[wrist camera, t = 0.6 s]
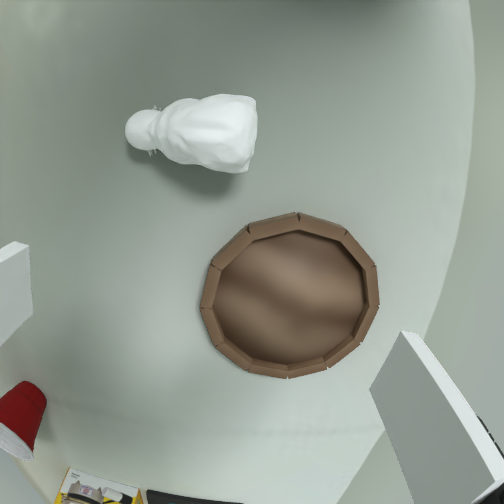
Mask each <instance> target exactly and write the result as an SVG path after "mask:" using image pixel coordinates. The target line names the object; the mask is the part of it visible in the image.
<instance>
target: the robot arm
mask: <svg viewBox="0 0 504 504" xmlns="http://www.w3.org/2000/svg"><path fill="white" fill-rule="evenodd" d="M33 314H34V312H33V302H32V291H31V276H30V249H29V245H25V244H22V243H19V242H16V241H14V242H12V243H10V244H8V245H6V246H4V247H3V248H1V249H0V346H1V345H2V344H3V343H4V342H5V341H6V340H7V339H8V338H9V337H10V336H11V335H12V334H13V333H14V332H15V331H16V330H17V329H18V328H19V327H20V326H21V325H22V324H23V323H24V322H25V321H26V320H27V319H28V318H29V317H30V316H32V315H33ZM369 390H370V392H371V395H372V397H373V399H374V402H375V404H376V407H377V409H378V411H379V414H380V416H381V419H382V421H383V423H384V426H385V428H386V431H387V433H388V436H389V438H390V441H391V443H392V446H393V448H394V451H395V453H396V456H397V458H398V461H399V464H400V466H401V469H402V472H403V474H404V476H405V479H406V482H407V485H408V488H409V490H410V493H411V496H412V498H413V501H414V504H504V455H503V453H502V451H501V450H500V448H499V446H498V445H497V443H496V442H495V443H494V439H493V437H492V435H491V434H490V433H488V429H487V428H486V426H485V425H484V423H483V421H482V420H481V419H480V418H479V417H478V416H477V415H476V414H475V413H474V412H473V410H472V409H471V407H470V406H469V404H468V403H467V401H466V400H465V398H464V397H463V396H462V394H461V393H460V391H459V390H458V388H457V387H456V385H455V384H454V383H453V381H452V380H451V378H450V377H449V376H448V374H447V373H446V372H445V370H444V369H443V367H442V366H441V365H440V363H439V362H438V361H437V360H436V358H435V356H434V355H433V354H432V352H431V351H430V350H429V349H428V347H427V346H426V344H425V343H424V342H423V341H422V339H421V338H420V337H419V335H418V334H417V333H411V332H404V331H401V332H400V334H399V336H398V338H397V340H396V342H395V343H394V345H393V347H392V349H391V351H390V353H389V355H388V357H387V359H386V360H385V362H384V364H383V366H382V368H381V369H380V371H379V373H378V375H377V377H376V378H375V380H374V382H373V383H372V385H371V387H370V389H369Z"/></svg>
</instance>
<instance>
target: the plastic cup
mask: <svg viewBox="0 0 504 504" xmlns="http://www.w3.org/2000/svg"><path fill="white" fill-rule="evenodd" d="M45 408H46V398H45V396H44V394H43V393H42V392H41V391H40V389H38V388H37V387H36V386H35V385H33V384H32V383H30V382H27V381H23V382H21V383H19V384H18V385H16V386H15V387H14V388H13V389H12V390H10V391H8V392H7V393H6V394H5V395H4V396H3V397H2V398H0V447H1V448H2V449H4V450H5V451H6V452H8V453H10V454H11V455H13V456H15V457H17V458H19V459H22V460H24V461H32V460H33V459H34V455H33V449H34V448H33V447H34V441H35V438H36V435H37V432H38V429H39V426H40V423H41V420H42V415H43V413H44V410H45Z"/></svg>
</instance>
